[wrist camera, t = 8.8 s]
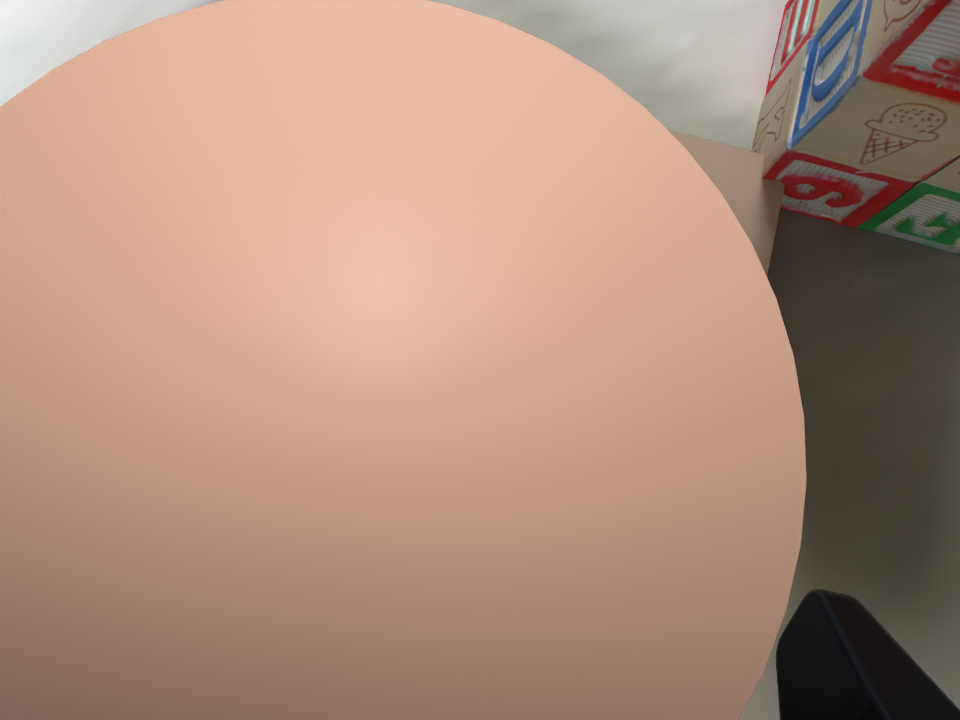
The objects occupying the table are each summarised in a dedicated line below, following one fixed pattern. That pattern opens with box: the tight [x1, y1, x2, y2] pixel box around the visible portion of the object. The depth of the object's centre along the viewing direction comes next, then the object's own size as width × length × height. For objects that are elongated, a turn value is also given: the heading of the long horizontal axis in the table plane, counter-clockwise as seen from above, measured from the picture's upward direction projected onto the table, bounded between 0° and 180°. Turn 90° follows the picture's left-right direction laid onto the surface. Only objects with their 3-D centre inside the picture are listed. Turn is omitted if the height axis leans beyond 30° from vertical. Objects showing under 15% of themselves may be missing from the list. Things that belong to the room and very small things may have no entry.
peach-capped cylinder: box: [0, 0, 807, 720], centre depth 10 cm, size 5×5×13 cm
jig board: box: [667, 129, 785, 276], centre depth 16 cm, size 20×13×4 cm, turn 165°
